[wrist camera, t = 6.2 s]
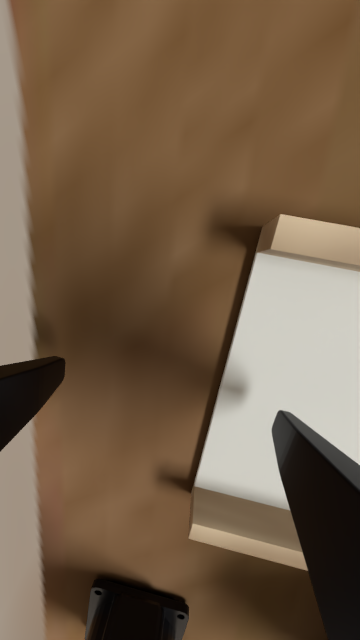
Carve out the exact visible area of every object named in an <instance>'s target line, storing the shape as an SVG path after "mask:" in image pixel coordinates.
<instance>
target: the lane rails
mask: <svg viewBox="0 0 360 640" xmlns="http://www.w3.org/2000/svg"><path fill="white" fill-rule="evenodd" d="M256 253H262V254H268V255H273V256H278V257H284V258H289V259H294V260H300V261H305V262H310V263H316V264H321V265H326V266H331V267H337V268H342V269H347V270H353V271H358V272H360V228H356V227H351V226H345V225H339V224H334V223H328V222H322V221H317V220H311V219H305V218H300V217H294V216H288V215H283V214H280V215H278V216H277V217H276V218H274V219H273V220H271V221H270V222H268V223H267V224H265V225H264V226H263V227H262V230H261V234H260V238H259V242H258V245H257V249H256ZM194 483H195V481H194ZM188 539H192V540H195V541H199V542H203V543H206V544H210V545H214V546H218V547H221V548H225V549H229V550H233V551H236V552H240V553H244V554H247V555H251V556H255V557H259V558H262V559H266V560H270V561H273V562H277V563H281V564H285V565H288V566H292V567H296V568H299V569H303V570H307V571H308V569H307V566H306V562H305V559H304V556H303V552H302V549H301V545H300V542H299V538H298V535H297V532H296V528H295V525H294V521H293V518H292V515H291V511H290V510H286V509H282V508H278V507H274V506H270V505H266V504H262V503H258V502H254V501H250V500H247V499H243V498H239V497H235V496H231V495H227V494H223V493H219V492H215V491H211V490H207V489H203V488H199V487H195V486H194V485H193V489H192V492H191V502H190V520H189V538H188Z"/></svg>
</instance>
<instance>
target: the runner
mask: <svg viewBox="0 0 360 640" xmlns="http://www.w3.org/2000/svg"><path fill="white" fill-rule="evenodd" d="M279 410H283V411H288V412H291V413H292V414H293V415H295V416H296V417H297V418H299V419H300V420H301V421H302V422H304V423H305V424H306V425H308V426H309V427H310V428H312V429H313V430H314V431H316V432H317V433H318V434H319V435H321V436H322V437H323V438H325V439H326V440H327V441H329V442H330V443H331V444H333V445H334V446H335V447H337V448H338V449H339V450H340V451H342V452H343V453H344V454H346V455H347V456H348V457H350V458H351V459H352V460H354V461H355V462H356V463H358V464H359V465H360V272H358V271H353V270H347V269H342V268H337V267H331V266H326V265H321V264H316V263H310V262H305V261H300V260H294V259H289V258H284V257H278V256H273V255H268V254H262V253H255V257H254V260H253V264H252V268H251V272H250V275H249V279H248V283H247V287H246V290H245V294H244V298H243V301H242V305H241V309H240V313H239V316H238V320H237V324H236V328H235V331H234V335H233V339H232V343H231V346H230V350H229V354H228V358H227V361H226V365H225V369H224V373H223V376H222V380H221V384H220V388H219V391H218V395H217V399H216V403H215V406H214V410H213V414H212V417H211V421H210V425H209V429H208V432H207V436H206V440H205V444H204V447H203V451H202V455H201V459H200V462H199V466H198V470H197V474H196V477H195V483H194V486H195V487H199V488H203V489H207V490H211V491H215V492H219V493H223V494H227V495H231V496H235V497H239V498H243V499H247V500H250V501H254V502H258V503H262V504H266V505H270V506H274V507H278V508H282V509H286V510H290V508H289V504H288V501H287V498H286V494H285V491H284V487H283V484H282V481H281V477H280V473H279V469H278V464H277V459H276V453H275V448H274V443H273V438H272V425H273V423H274V420H275V417H276V414H277V412H278V411H279Z"/></svg>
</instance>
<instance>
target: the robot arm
mask: <svg viewBox="0 0 360 640" xmlns="http://www.w3.org/2000/svg"><path fill="white" fill-rule="evenodd" d="M64 375H65V359H64V358H61V357H57V356H53V357H47V358H41V359H36V360H30V361H25V362H19V363H13V364H8V365H2V366H0V451H1V450H2V449H3V448H4V447H5V446H6V445H7V444H8V443H9V442H10V441H11V440H12V439H13V438H14V436H16V435H17V434H18V433H19V431H20V430H21V429H22V428H23V427H24V426H25V425H26V424H27V423H28V422H29V421H30V420H31V419H32V418H33V417H34V416H35V415H36V414H37V412H38V411H39V410H40V409H41V408H42V407H43V405H44V404H45V403H46V402H47V400H48V399H49V398H50V396H51V395H52V394H53V393H54V391H55V390H56V389H57V388H58V386H59V385H60V384H61V383H62V381H63V379H64ZM272 438H273V443H274V448H275V453H276V459H277V464H278V469H279V473H280V477H281V481H282V484H283V487H284V491H285V494H286V498H287V501H288V504H289V508H290V511H291V515H292V518H293V521H294V525H295V528H296V532H297V535H298V538H299V542H300V545H301V549H302V552H303V556H304V559H305V562H306V566H307V569H308V573H309V576H310V579H311V583H312V586H313V590H314V593H315V596H316V600H317V603H318V607H319V610H320V613H321V617H322V620H323V624H324V627H325V630H326V634H327V637H328V640H360V465H359V464H358V463H356V462H355V461H354V460H352V459H351V458H350V457H348V456H347V455H346V454H344V453H343V452H342V451H340V450H339V449H338V448H337V447H335V446H334V445H333V444H331V443H330V442H329V441H327V440H326V439H325V438H323V437H322V436H321V435H319V434H318V433H317V432H316V431H314V430H313V429H312V428H310V427H309V426H308V425H306V424H305V423H304V422H302V421H301V420H300V419H299V418H297V417H296V416H295V415H293V414H292V413H291V412H288V411H283V410H279V411H278V412H277V414H276V417H275V420H274V423H273V425H272ZM188 619H189V607H188V605H187V604H185V603H183V602H179V601H176V600H172V599H169V598H165V597H162V596H158V595H155V594H151V593H148V592H144V591H141V590H137V589H134V588H130V587H127V586H124V585H120V584H117V583H113V582H110V581H106V580H103V579H96V580H94V583H93V586H92V589H91V593H90V601H89V609H88V617H87V625H86V633H85V640H182V638H183V635H184V632H185V629H186V626H187V622H188Z"/></svg>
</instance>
